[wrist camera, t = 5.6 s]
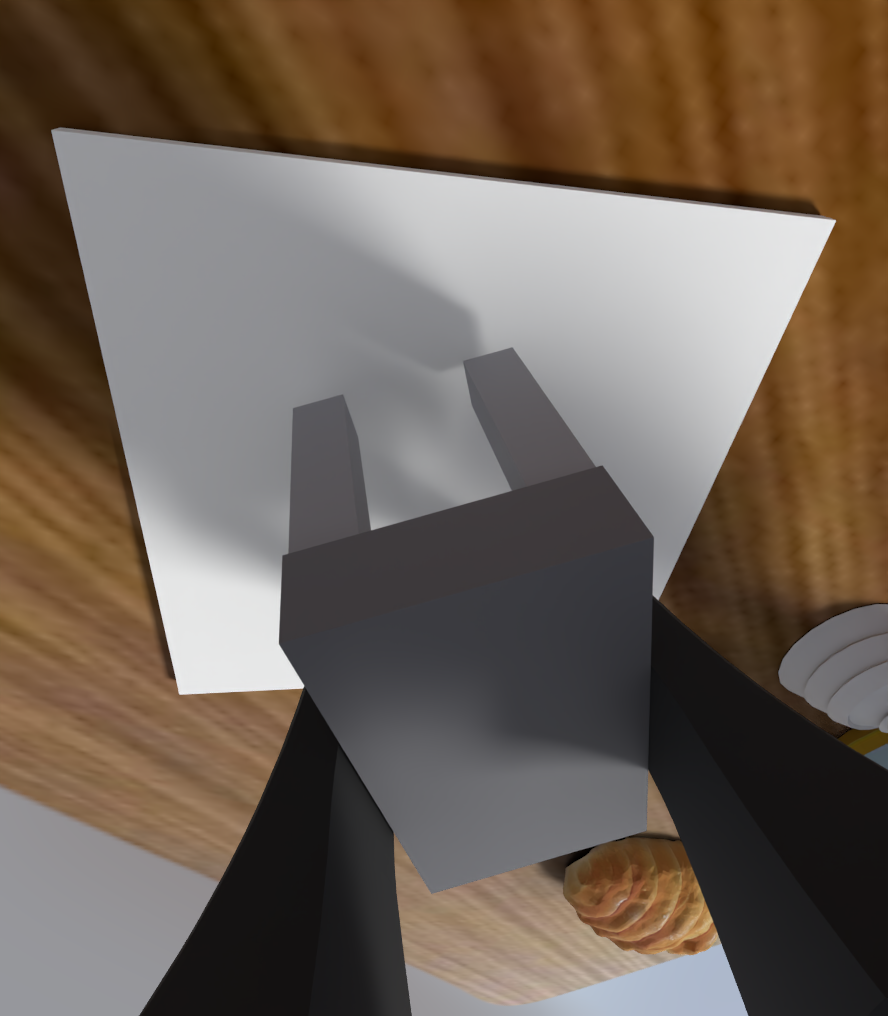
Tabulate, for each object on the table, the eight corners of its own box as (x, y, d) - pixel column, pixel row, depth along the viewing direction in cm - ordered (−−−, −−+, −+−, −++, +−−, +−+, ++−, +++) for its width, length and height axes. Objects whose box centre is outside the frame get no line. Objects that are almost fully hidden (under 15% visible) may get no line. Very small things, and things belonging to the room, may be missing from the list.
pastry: (524, 874, 31) (545, 963, 28) (621, 811, 28) (657, 902, 25) (635, 897, 35) (664, 976, 32) (728, 845, 33) (769, 925, 30)
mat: (823, 215, 12) (835, 220, 12) (620, 662, 20) (624, 672, 20) (60, 127, 9) (50, 130, 9) (182, 683, 18) (179, 694, 17)
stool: (548, 608, 16) (646, 830, 12) (395, 652, 16) (431, 893, 12) (510, 337, 11) (653, 537, 7) (288, 399, 11) (279, 644, 7)
